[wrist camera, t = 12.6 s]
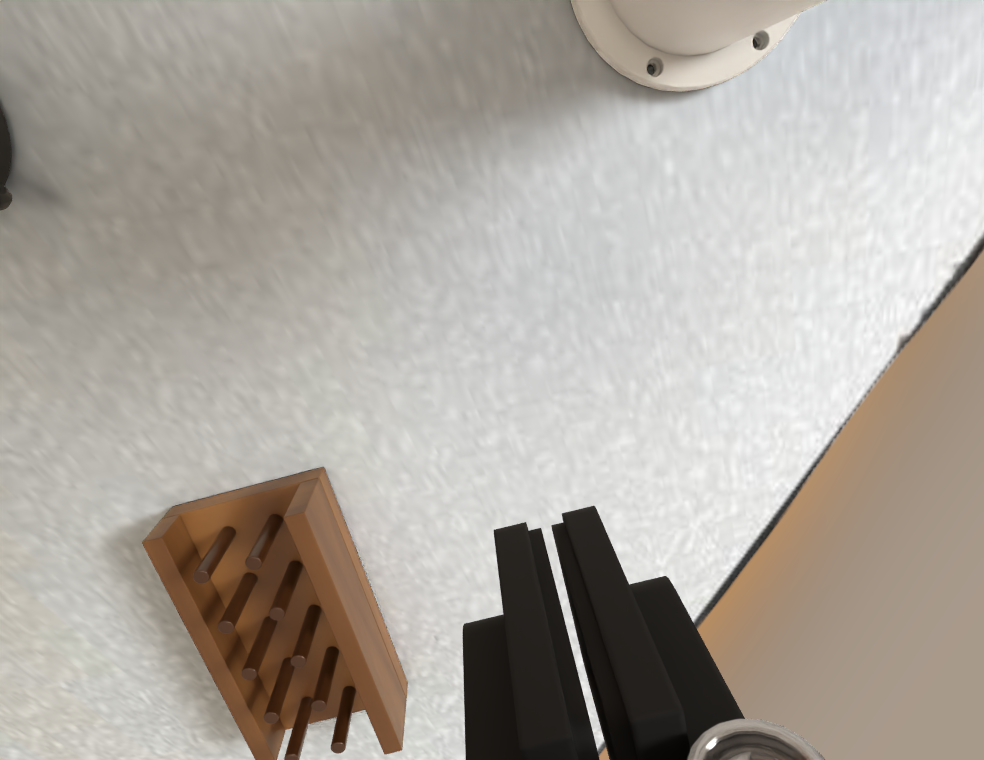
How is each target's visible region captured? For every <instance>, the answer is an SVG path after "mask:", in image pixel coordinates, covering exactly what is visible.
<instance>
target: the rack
mask: <svg viewBox="0 0 984 760" xmlns="http://www.w3.org/2000/svg"><path fill="white" fill-rule="evenodd" d="M142 544H143V546H144V548H145V550H146V552H147V553H148V555H149V557H150V559H151V561H152V563H153V565H154V567H155V569H156V571H157V573H158V574H159V576H160V578H161V580H162V582H163V584H164V586H165V588H166V590H167V592H168V594H169V595H170V597H171V599H172V601H173V603H174V605H175V607H176V609H177V611H178V613H179V615H180V616H181V618H182V620H183V622H184V624H185V626H186V628H187V630H188V632H189V634H190V636H191V637H192V639H193V641H194V643H195V645H196V647H197V649H198V651H199V653H200V655H201V657H202V658H203V660H204V662H205V664H206V666H207V668H208V670H209V672H210V674H211V676H212V678H213V679H214V681H215V683H216V685H217V687H218V689H219V691H220V693H221V695H222V697H223V699H224V700H225V702H226V704H227V706H228V708H229V710H230V712H231V714H232V716H233V718H234V720H235V721H236V723H237V725H238V727H239V729H240V731H241V733H242V735H243V737H244V739H245V741H246V742H247V744H248V746H249V748H250V750H251V752H252V754H253V756H254V758H255V760H277V757H278V754H279V751H280V747H281V744H282V741H283V737H284V734H285V730H287V729H291V728H293V730H292V733H291V737H290V740H289V744H288V747H287V751H286V754H285V758H284V759H285V760H299V759H300V755H301V751H302V747H303V743H304V739H305V735H306V731H307V728H308V724H310V723H314V722H318V721H322V720H326V719H330V718H334V717H337V720H336V725H335V729H334V734H333V739H332V744H331V750H332V751H333V752H334V753H342V752H343V751H344V750H345V748H346V743H347V737H348V732H349V726H350V721H351V715H352V713H354V712H358V711H362V710H366V712H367V714H368V717H369V719H370V721H371V724H372V726H373V728H374V731H375V733H376V735H377V738H378V740H379V742H380V745H381V747H382V749H383V752H384V754H389V753H393V752H397V751H401V750H402V747H403V735H404V723H405V711H406V698H407V687H408V682H407V680H406V677H405V674H404V672H403V669H402V667H401V664H400V662H399V659H398V656H397V654H396V651H395V649H394V646H393V644H392V641H391V638H390V636H389V633H388V631H387V628H386V626H385V623H384V620H383V618H382V615H381V613H380V610H379V608H378V605H377V602H376V600H375V597H374V595H373V592H372V590H371V587H370V584H369V582H368V579H367V577H366V574H365V572H364V569H363V566H362V564H361V561H360V559H359V556H358V554H357V551H356V548H355V546H354V543H353V541H352V538H351V536H350V533H349V530H348V528H347V525H346V523H345V520H344V518H343V515H342V512H341V510H340V507H339V505H338V502H337V500H336V497H335V494H334V492H333V489H332V487H331V484H330V482H329V479H328V476H327V474H326V471H325V469H324V467H322V468H318V469H314V470H310V471H307V472H303V473H299V474H295V475H291V476H288V477H284V478H280V479H276V480H272V481H269V482H265V483H261V484H257V485H253V486H250V487H246V488H242V489H238V490H234V491H231V492H227V493H223V494H219V495H215V496H212V497H208V498H204V499H200V500H196V501H192V502H189V503H185V504H181V505H177V506H173V507H171V509H170V510H169V511H168V512H167V513H166V515H165V516H164V517H163V518H162V519H161V520H160V521H159V523H158V524H157V525H156V526H155V527H154V529H153V530H152V531H151V532H150V533H149V534H148V536H147V537H146V538H145V539H144V540H143V542H142Z"/></svg>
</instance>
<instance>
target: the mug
mask: <svg viewBox="0 0 984 760" xmlns="http://www.w3.org/2000/svg"><path fill="white" fill-rule="evenodd" d="M10 163H11V143H10V136H9V131H8V127H7V124H6V120H5V117H4V115H3V113H2V110H1V108H0V210H3V209H6V208H7V207H8V206H9V205H10V203H11V201H12V195H11V193H10V192H9V191H8V190H7V189H6V187H5V186H4V185H5V182H6V180H7V177H8V174H9V169H10Z"/></svg>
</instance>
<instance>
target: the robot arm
mask: <svg viewBox="0 0 984 760" xmlns="http://www.w3.org/2000/svg"><path fill="white" fill-rule="evenodd" d="M824 1H827V0H571V3H572V7H573V10H574V13H575V16H576V18H577V20H578V22H579V24H580V26H581V28H582V30H583V32H584V34H585V36H586V38H587V40H588V41H589V42H590V43H591V45H592V46H593V47H594V49H595V50H596V51H597V53H598V54H599V55H600V56H601V58H602V59H603V60H605V61H606V62H607V63H608V64H609V65H610V66H612V67H613V68H614V69H615V70H616V71H617V72H619V73H620V74H622V75H624V76H625V77H627V78H629V79H631V80H633V81H635V82H636V83H638V84H641V85H644V86H648V87H651V88H654V89H658V90H664V91H679V92H684V91H691V90H698V89H705V88H708V87H710V86H714V85H717V84H720V83H723V82H725V81H727V80H729V79H732V78H734V77H736V76H738V75H740V74H742V73H744V72H745V71H747V70H748V69H750V68H751V67H752V66H754V65H755V64H756V63H758V62H759V61H761V60H762V59H763V58H765V57H766V55H767V54H768V53H769V52H770V51H771V50H772V49H773V48H774V47H775V46H776V45H777V44H778V43H779V42H780V41H781V40H782V39H783V38H784V36H785V35H786V33H787V32H788V30H789V29H790V28H791V26H792V25H793V23H794V22H795V20H796V19H797V18H798V16H799V14H800V13H801V12H803V11H805V10H807V9H809V8H811V7H814V6H816V5H818V4H820V3H822V2H824ZM753 39H755V40H756V42H757V45H756V48H754V47H753V44H752V40H753ZM648 65H652V66H653V67H654V73H653V74H652V75H651V74H649V73H648V72H647V66H648ZM562 517H563V522H564V523H559V524H555V525H551V526H552V531H553V535H554V539H555V543H556V548H557V552H558V556H559V560H560V565H561V569H562V573H563V577H564V582H565V586H566V590H567V594H568V599H569V603H570V607H571V611H572V616H573V620H574V624H575V628H576V633H577V637H578V641H579V645H580V650H581V654H582V658H583V662H584V666H585V670H586V674H587V678H588V681H589V685H590V689H591V692H592V696H593V700H594V703H595V707H596V711H597V714H598V718H599V722H600V726H601V729H602V733H603V737H604V740H605V744H606V748H607V751H608V755H609V759H610V760H825V759H824V757H823V756H822V755H821V754H820V753H819V752H818V751H817V750H816V749H815V748H814V747H813V746H811V745H810V744H809V743H808V742H807V741H806V740H805V739H804V738H802V737H801V736H799V735H797V734H795V733H794V732H792V731H790V730H788V729H787V728H785V727H783V726H780V725H777V724H774V723H770V722H767V721H763V720H756V719H745V718H744V716H743V714H742V712H741V710H740V709H739V707H738V705H737V703H736V701H735V699H734V697H733V696H732V694H731V692H730V690H729V688H728V686H727V685H726V683H725V681H724V679H723V677H722V675H721V673H720V672H719V670H718V668H717V666H716V664H715V662H714V661H713V659H712V657H711V655H710V653H709V651H708V649H707V647H706V646H705V644H704V642H703V640H702V638H701V636H700V634H699V633H698V631H697V629H696V627H695V625H694V623H693V621H692V620H691V618H690V616H689V614H688V612H687V610H686V608H685V607H684V605H683V603H682V601H681V599H680V597H679V595H678V594H677V592H676V590H675V588H674V586H673V584H672V583H671V581H670V580H669V578H668V577H666V576H663V577H659V578H655V579H651V580H646V581H642V582H638V583H634V584H630V585H629V583H628V581H627V579H626V576H625V574H624V572H623V570H622V567H621V565H620V563H619V560H618V558H617V556H616V553H615V551H614V549H613V546H612V544H611V542H610V539H609V537H608V535H607V533H606V530H605V528H604V526H603V523H602V521H601V519H600V516H599V514H598V512H597V509H596V508H595V506H591V507H587V508H583V509H579V510H575V511H570V512H566V513H562ZM494 538H495V546H496V555H497V563H498V572H499V580H500V588H501V597H502V605H503V613H504V615H500V616H495V617H491V618H487V619H483V620H479V621H474V622H470V623H466V624H464V626H463V666H464V706H465V745H466V760H599V756H598V752H597V748H596V744H595V740H594V735H593V731H592V727H591V723H590V719H589V715H588V711H587V707H586V703H585V699H584V696H583V692H582V688H581V684H580V680H579V676H578V672H577V668H576V664H575V660H574V656H573V652H572V648H571V644H570V640H569V636H568V632H567V629H566V625H565V621H564V617H563V613H562V609H561V605H560V601H559V597H558V593H557V589H556V585H555V581H554V577H553V573H552V569H551V565H550V562H549V558H548V554H547V550H546V546H545V542H544V538H543V534H542V530H541V528H539V529H535V530H530V531H528V527H527V524H526V522H525V523H521V524H516V525H512V526H508V527H504V528H500V529H496V530H494Z"/></svg>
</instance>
